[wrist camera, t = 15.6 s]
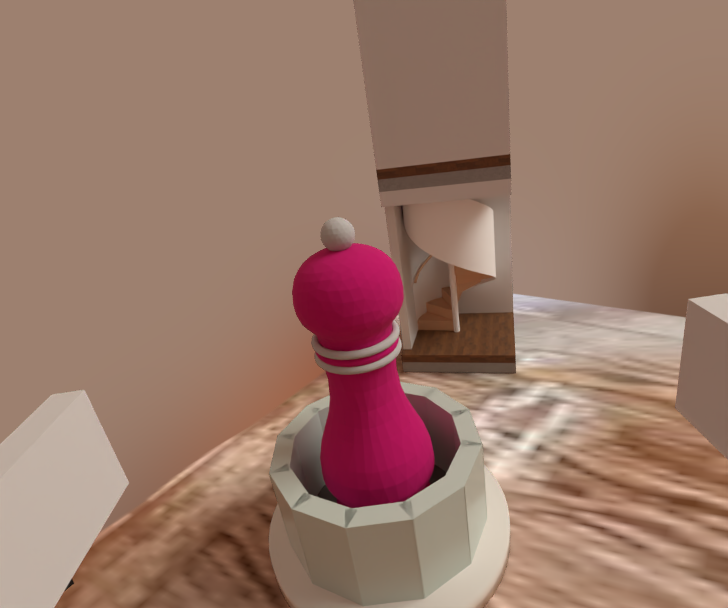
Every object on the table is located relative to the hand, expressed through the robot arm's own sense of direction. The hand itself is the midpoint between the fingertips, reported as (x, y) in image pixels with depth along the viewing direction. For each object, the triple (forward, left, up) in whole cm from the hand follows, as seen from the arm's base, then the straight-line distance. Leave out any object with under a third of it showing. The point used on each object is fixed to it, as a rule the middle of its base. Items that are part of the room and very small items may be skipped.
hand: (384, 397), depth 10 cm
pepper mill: (+1, -15, -19) cm, 24 cm away
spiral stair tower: (-9, -38, -21) cm, 44 cm away
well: (+1, -15, -21) cm, 26 cm away
